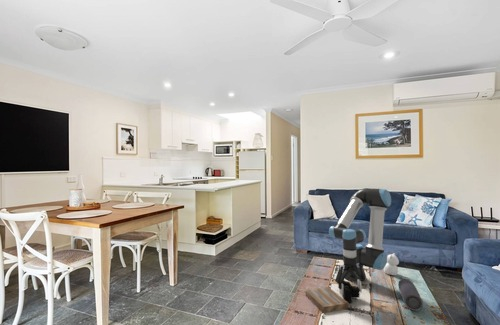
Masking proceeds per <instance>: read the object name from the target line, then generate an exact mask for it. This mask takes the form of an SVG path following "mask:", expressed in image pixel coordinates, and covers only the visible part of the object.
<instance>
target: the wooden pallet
mask: <svg viewBox="0 0 500 325" xmlns="http://www.w3.org/2000/svg"><path fill="white" fill-rule="evenodd" d="M305 296H306V298H308V299H309V300H310V301H311V302H312V303H313V304H314V305H315V306H316V307H317V308H318V309H319V310H320V311H321V312H322V313H323V314H324V313H331V312H336V311H342V310H347V309H350V305H349V303H348V302H347V301H346V300H344V299H343V296H342V295H339V294H338V293H337V292H335V290H333V289H331V288H330V287H329V286H327V287H320V288H313V289H305Z"/></svg>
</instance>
